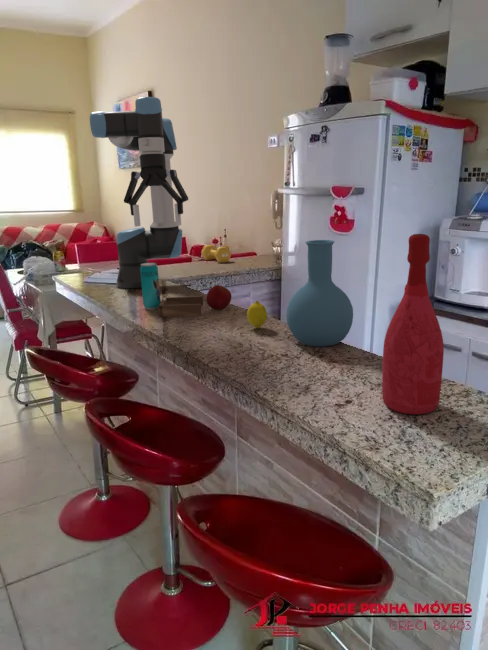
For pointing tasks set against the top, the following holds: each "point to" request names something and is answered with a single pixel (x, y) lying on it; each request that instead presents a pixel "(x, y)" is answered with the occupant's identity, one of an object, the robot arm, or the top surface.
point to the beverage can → (150, 285)
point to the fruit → (257, 314)
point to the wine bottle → (413, 342)
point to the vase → (319, 302)
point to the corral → (180, 306)
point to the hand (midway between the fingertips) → (157, 225)
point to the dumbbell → (216, 253)
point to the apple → (218, 297)
